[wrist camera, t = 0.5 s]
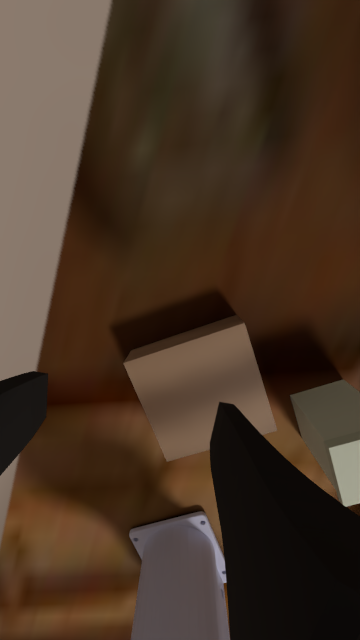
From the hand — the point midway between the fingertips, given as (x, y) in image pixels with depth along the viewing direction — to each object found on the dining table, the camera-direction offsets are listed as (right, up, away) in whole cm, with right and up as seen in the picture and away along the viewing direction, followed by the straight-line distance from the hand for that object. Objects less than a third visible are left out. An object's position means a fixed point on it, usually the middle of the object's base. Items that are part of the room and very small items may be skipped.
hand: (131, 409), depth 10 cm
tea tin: (+14, -4, +11) cm, 18 cm away
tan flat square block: (+4, -1, +11) cm, 11 cm away
